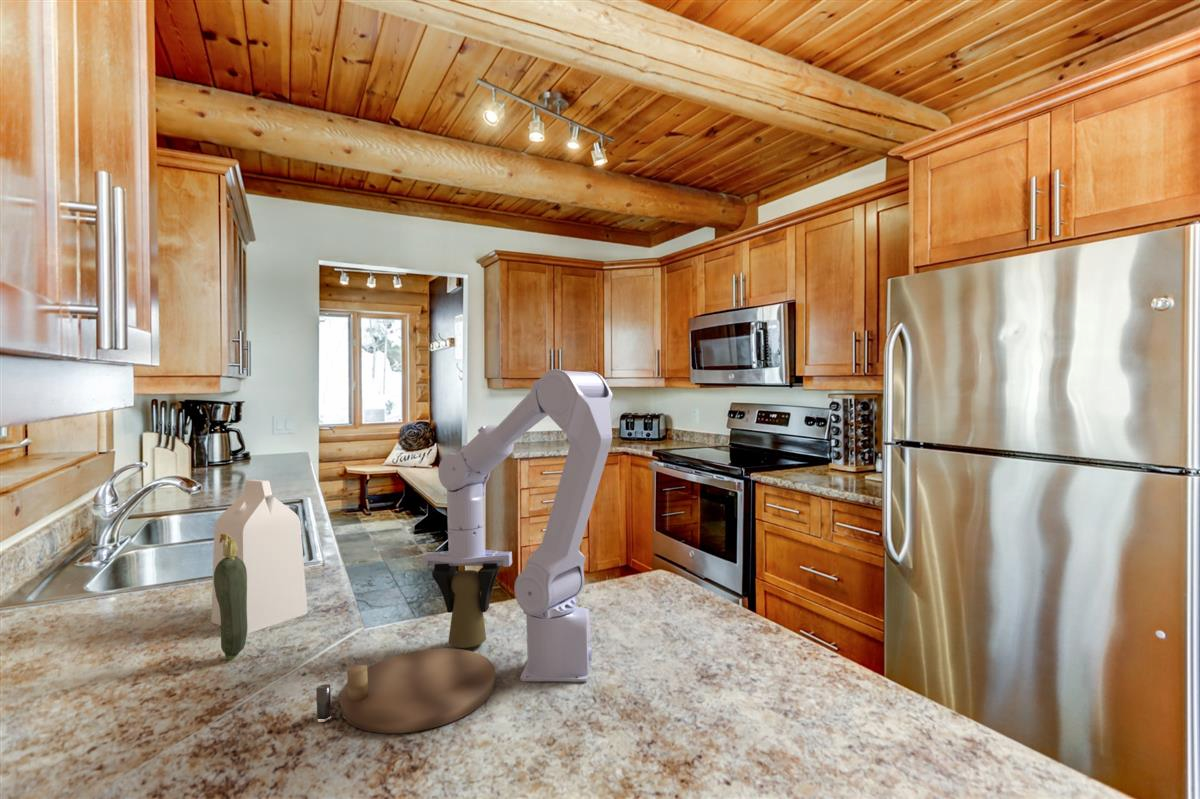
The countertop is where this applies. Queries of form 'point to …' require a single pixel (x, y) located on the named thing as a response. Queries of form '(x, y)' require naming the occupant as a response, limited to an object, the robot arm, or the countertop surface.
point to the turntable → (416, 690)
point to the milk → (264, 556)
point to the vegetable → (231, 598)
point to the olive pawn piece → (466, 611)
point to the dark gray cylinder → (323, 701)
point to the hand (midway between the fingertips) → (468, 610)
